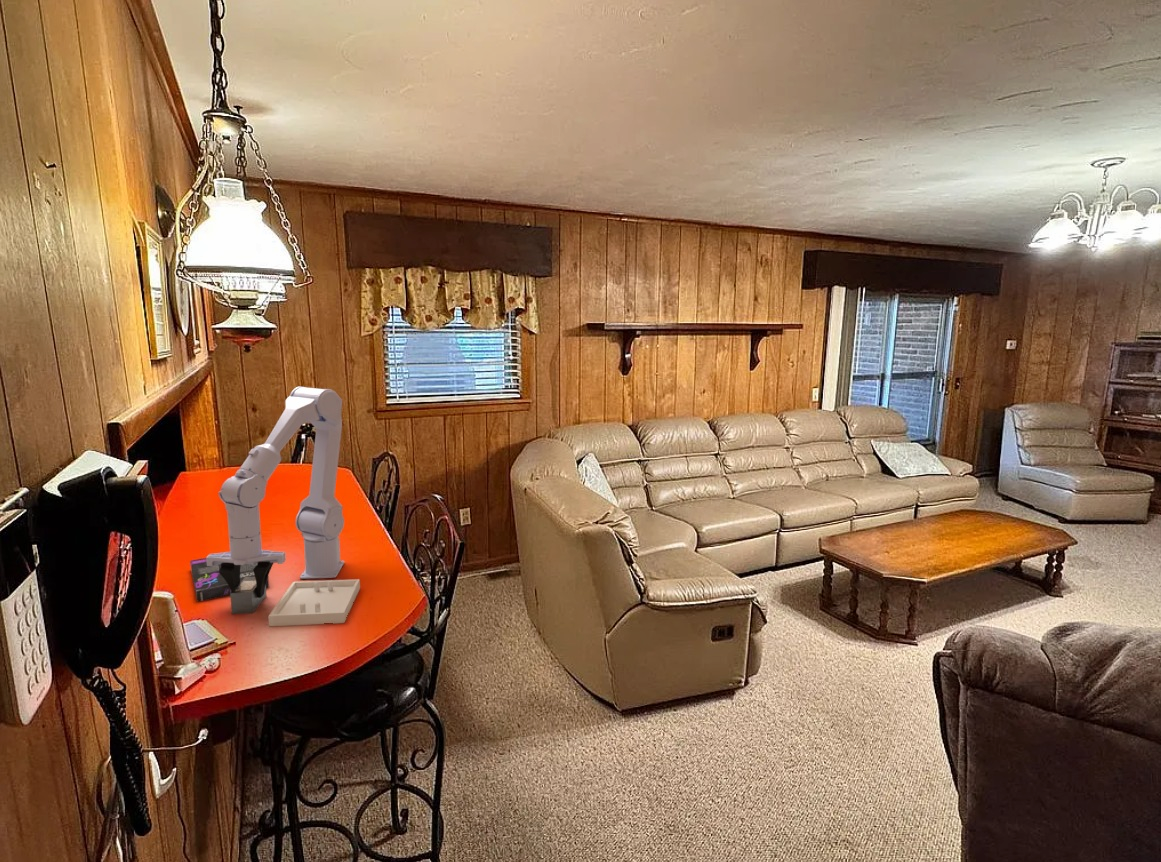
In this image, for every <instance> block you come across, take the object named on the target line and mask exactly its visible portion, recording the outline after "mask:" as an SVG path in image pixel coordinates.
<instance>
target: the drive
mask: <svg viewBox="0 0 1161 862" xmlns="http://www.w3.org/2000/svg"><path fill="white" fill-rule="evenodd" d="M229 597H230V608H231V615H241V614H243V615H245V614H254V613H255V611H256V610H257V609H258V607H259V606H260V605H261V603H263V601H264V600H265V599H266V597H267V588H266V585H265V591H264V595H263V596H262V597H261V598H258V597H257V585H256V578H255V577H245V578H244V579H243V580H242V581H241V582H240V583H239V584H238V586H237V587H236V588H235V589H234V590H233V591H232V592H231V593H230V595H229ZM264 598H265V599H264Z"/></svg>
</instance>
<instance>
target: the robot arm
mask: <svg viewBox="0 0 1161 862" xmlns="http://www.w3.org/2000/svg"><path fill="white" fill-rule="evenodd" d="M284 405H285V408H284V410H283V412H282V414H281V415H280V417H279V419H278V420H277V422H276V424H275V425H274V427H273V429H272V431H271V432H270V434H269V435H268V437H267V439H266V441H265V442H264V443H263V444H259V445H255V446H254V448H251V449H250V451H249V452H248V456H247V457H246V459H245V460H244V461H243V463H242V465H241V466H240V467H239V468H238V469H237V471H236V472H235V474H234V475H233V476H231V477H228V478H227V479H226V480H225V481H224V482H223V483H222V485H221V488H220V491H218V497H219V499H220V500H221V501H222V502H223V503H224V507H225V510H226V513H227V514H226V516H227V525H228V526H227V527H228V529H227V530H228V540H229V541H228V542H229V551H225V552H217V553H209V554H208V555H207V556H206V557H205V558H206V560H207V566H213V565H217V564H221V568H220V569H219V573H220V575H221V576H222V577H223V578H224V579H225V581H226V582H227V584H228V586H229V587H230V590H231V592H232V591H233V590H234V589H235V588H236V587H237V586H238V584H239V583H240V566H241V565H244V564H252V563H258V565H257V566H256V567H255V568H254V569H253V571H254V574H255V578H256V585H257V597H258V598H261V597H262V596H263V595H264V591H265V585H266V581H267V578H268V579H269V577H268V576H269V574H270V572H271V569H272V567H273V565H274V564H278V565H282V564H284V563H285V562H286V561H287V559H286V551H276V550H275V551H273V550H265V549H262V546H263V545H262V534H261V533H262V532H261V517H260V503H261V502H262V501H263V500H264V499H265V496H266V487H267V486H268V481H269V479H270V478H271V476H272V475H273V473H274V472H275V470H276V468H278V466H279V464H280V463H281V462H282V456H281V451H282V450H283V449H284V447H285V446H286V445H287V443H289V441H290V440H291V438H292V437H293V436H294V435H295V434H296V433H297V431H298V430H299V429H300V428H301V427H302V425H304V424H307V423H311V425H312V426H313V427H314V428H315V438H314V445H313V446H314V448H313V457H312V466H311V475H310V484H309V493H308V494H309V495H308V496H307V497H306V498H304V499H303V500H302V501H301V502H300V506H299V510H298V513H297V514H296V517H295V527H296V529H297V530H298V531H299V532H301V537H302V538H303V545H304V546H303V547H304V549H303V550H304V551H303V552H304V571H302V573H301V574H300V576H299V579H300V580H307V579H308V580H309V579H311V580H312V579H333V578H335V579H336V577H337V576H338V575H339V573H340V571H341V570H342V567H343V566H344V564H345V560H341V549H340V548H341V546H340V545H341V544H340V543H341V542H340V534H341V533H342V531H343V529H344V525H345V519H344V516H343V515H344V514H343V507H344V506H343V505H342V504H341V503H340V501H339V500H338V499H337V498H336V497H335V494H336V486H337V485H336V484H337V476H338V475H337V474H338V466H339V459H340V458H339V457H340V448H341V447H340V446H341V438H342V429H343V419H342V407H343V399H342V398H341V397H340V396H339V394H338V393H337V392H336V391H335V390H334V389H330V388H317V387H316V388H315V387H306V386H297V387H295V388H293V390H292V391H291V392H290V394H289V396H288V397H287V398H286V399H285V400H284Z"/></svg>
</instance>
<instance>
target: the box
mask: <svg viewBox="0 0 1161 862" xmlns="http://www.w3.org/2000/svg"><path fill="white" fill-rule="evenodd" d="M189 562H190V570H191V571H190V572H191V577H192V581H193V586H194V587H193V588H194V591H195V597H196V602H198V601H199V602H203V601H204V602H205V601H208V600H212V599H219V598H223V597H228V596H230V593H231V590H230V587H229V586H228V584H227V582H226V581H225V579H224V578H223V577H222V576H221V575H220V573H219V569H220V568H221V564H217V565H213V566H207V560H206V557H204V558H197V559H192V560H190V561H189ZM257 565H258V563H252V564H244V565H241V566H240V582H241V581H242V580H243V579H244V578H245V577H255V574H254V571H253V569H254V568H255V567H256V566H257ZM269 580H270V579H269V575H268V578H267V581H266V589H267V588H269V587H270V584H269V583H270V582H269ZM199 602H198V603H199Z"/></svg>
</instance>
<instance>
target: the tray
mask: <svg viewBox="0 0 1161 862" xmlns="http://www.w3.org/2000/svg"><path fill="white" fill-rule="evenodd" d="M360 582H361V581H360V579H359V578H358V579H333V580H332V579H330V580H305V581H303V580H299V581H293V582H292V583H291V584H290V586H289V587H288V588H287V590H286V591H285V593H284V594H283V596H282V597H280V600H279V601H278V602H277V603H276V605H275V606H274V607H273V609H272V610H271V612H270V613H269V615H268V627H281V626H282V627H284V626H285V627H286V626H305V625H306V626H308V625H325V624H324V623H333V624H345V622H346V620H347V618H348V616H349V614H350V611H351V609H352V607H353V605H354V603H355V601H356V598H357V596H358V595H359V592H360V589H361V583H360ZM353 602H354V603H353ZM348 613H349V614H348ZM347 615H348V616H347ZM346 617H347V618H346Z"/></svg>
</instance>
